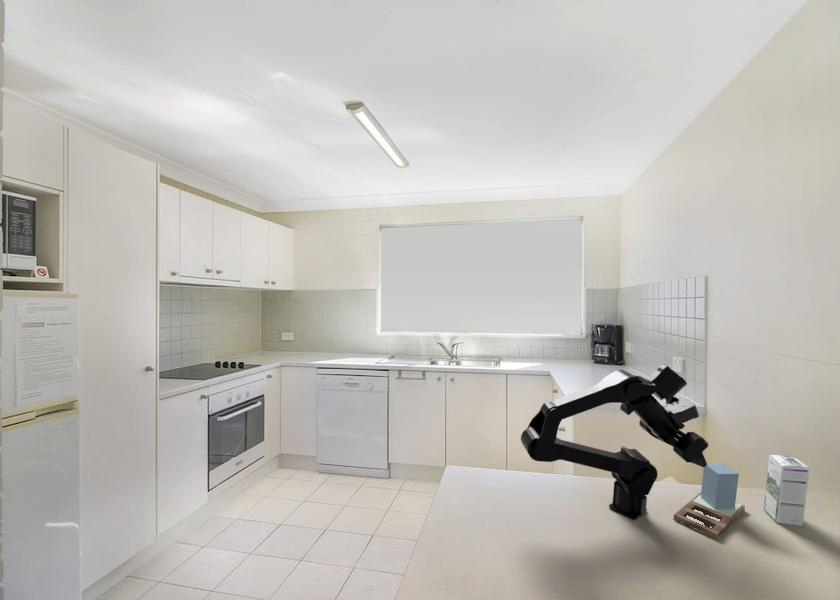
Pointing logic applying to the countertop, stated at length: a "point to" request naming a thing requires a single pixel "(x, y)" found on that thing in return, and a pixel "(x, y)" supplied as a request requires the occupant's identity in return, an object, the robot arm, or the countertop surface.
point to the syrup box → (786, 489)
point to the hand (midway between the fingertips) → (692, 456)
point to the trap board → (717, 527)
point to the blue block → (719, 486)
